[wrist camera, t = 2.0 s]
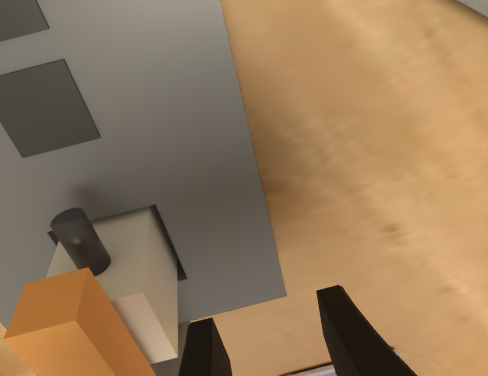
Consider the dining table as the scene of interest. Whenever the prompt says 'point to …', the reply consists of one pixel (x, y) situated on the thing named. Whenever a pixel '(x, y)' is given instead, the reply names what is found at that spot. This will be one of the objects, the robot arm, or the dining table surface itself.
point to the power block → (131, 142)
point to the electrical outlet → (476, 6)
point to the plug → (126, 271)
